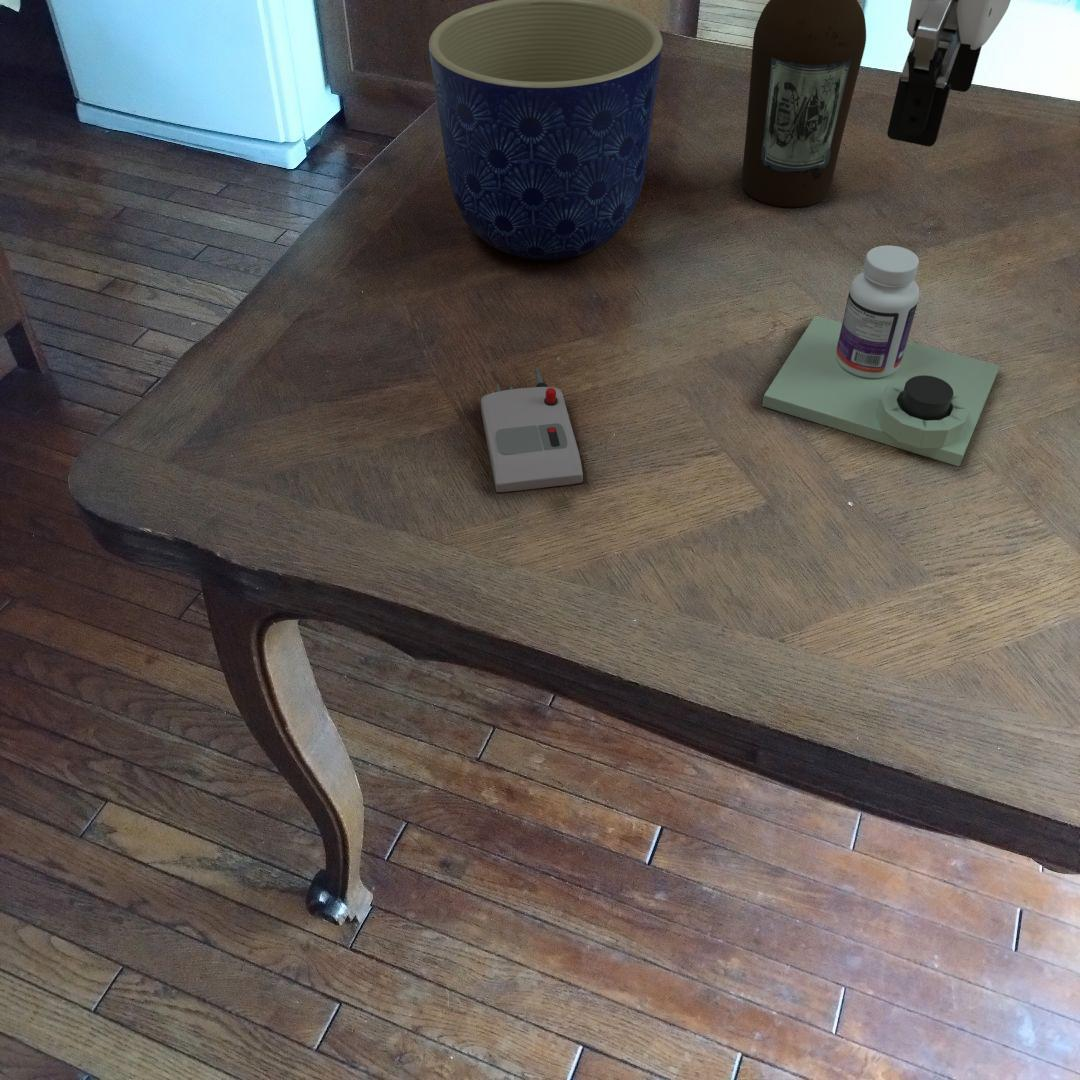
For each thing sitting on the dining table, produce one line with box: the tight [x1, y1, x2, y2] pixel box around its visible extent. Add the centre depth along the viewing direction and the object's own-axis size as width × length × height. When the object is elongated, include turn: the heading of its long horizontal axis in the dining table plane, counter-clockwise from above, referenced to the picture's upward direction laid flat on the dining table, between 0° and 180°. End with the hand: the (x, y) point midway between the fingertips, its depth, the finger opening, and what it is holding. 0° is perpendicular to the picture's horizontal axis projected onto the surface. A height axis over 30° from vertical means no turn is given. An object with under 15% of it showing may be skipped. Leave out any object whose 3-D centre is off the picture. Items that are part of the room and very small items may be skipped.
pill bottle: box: [836, 244, 920, 378], centre depth 86 cm, size 5×5×10 cm
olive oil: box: [740, 0, 867, 208], centre depth 104 cm, size 11×11×25 cm
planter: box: [428, 0, 664, 261], centre depth 100 cm, size 21×21×19 cm
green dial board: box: [761, 315, 1000, 467], centre depth 87 cm, size 16×14×3 cm
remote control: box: [480, 365, 584, 504], centre depth 83 cm, size 7×16×3 cm, turn 9°
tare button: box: [900, 375, 953, 421], centre depth 82 cm, size 4×4×2 cm
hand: (929, 113), depth 74 cm, fingers open, 9 cm apart
